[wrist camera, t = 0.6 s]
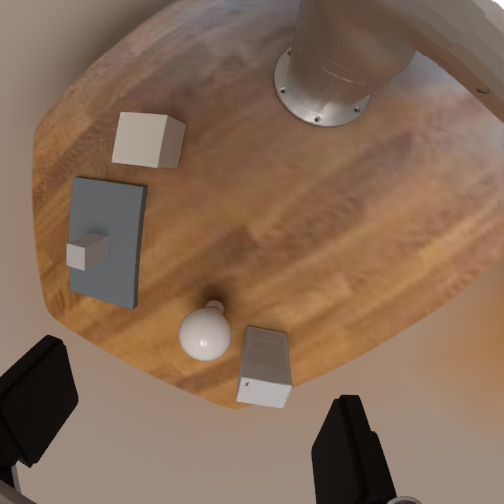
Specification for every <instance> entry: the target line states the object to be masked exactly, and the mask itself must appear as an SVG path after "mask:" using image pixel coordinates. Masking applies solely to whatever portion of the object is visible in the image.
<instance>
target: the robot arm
mask: <svg viewBox="0 0 504 504" xmlns="http://www.w3.org/2000/svg"><path fill="white" fill-rule="evenodd" d="M415 49H416V50H417V51H419V52H420V53H422V54H423V55H425V56H427V57H428V58H430V59H431V60H432V61H434V62H435V63H436V64H438V65H439V66H440V67H441V68H443V69H444V70H445V71H446V72H448V73H449V74H450V75H451V76H452V77H454V78H455V79H456V80H457V81H458V82H459V83H460V84H462V85H463V86H464V87H465V88H466V89H467V90H468V91H469V92H470V93H472V94H473V95H474V96H475V97H476V98H477V99H478V100H479V101H480V102H481V103H482V104H483V105H484V106H485V107H486V108H487V109H489V110H490V111H491V112H492V113H493V114H494V115H495V116H496V117H497V118H498V119H499V120H500V121H502V122H503V123H504V0H301V2H300V9H299V14H298V19H297V24H296V29H295V34H294V39H293V44H292V46H291V47H289V48H288V49H287V50H286V51H285V52H284V53H283V54H282V55H281V57H280V58H279V60H278V61H277V64H276V67H275V72H274V85H275V89H276V93H277V95H278V97H279V100H280V101H281V103H282V104H283V106H284V107H285V108H286V109H287V110H288V111H289V112H290V113H291V114H292V115H293V116H295V117H296V118H298V119H299V120H301V121H303V122H305V123H307V124H310V125H313V126H317V127H325V128H330V127H338V126H342V125H345V124H347V123H349V122H351V121H353V120H354V119H356V118H357V117H358V116H360V115H361V114H362V113H363V111H364V110H365V108H366V107H367V105H368V102H369V100H370V95H371V92H373V91H374V90H376V89H377V88H379V87H380V86H381V85H383V84H384V83H386V82H387V81H389V80H390V79H392V78H393V77H394V76H396V75H397V74H399V73H400V72H401V71H402V70H403V69H404V68H405V67H406V66H407V65H408V64H409V62H410V61H411V59H412V57H413V55H414V52H415ZM289 54H290V56H289ZM282 90H283V91H285V93H281V91H282ZM354 109H356V110H357V112H355V111H354ZM315 118H316V119H318V122H315V121H314V119H315ZM77 404H78V394H77V390H76V387H75V383H74V379H73V375H72V371H71V368H70V363H69V358H68V354H67V349H66V346H65V345H64V344H63V341H62V340H61V339H59V338H56V337H54V336H51V335H46V336H45V337H44V338H43V339H41V340H40V341H39V342H38V343H37V344H36V345H35V346H33V348H31V349H30V350H29V351H28V352H27V353H26V354H25V355H24V356H23V357H21V358H20V359H19V360H18V361H17V362H16V363H15V364H14V365H13V366H12V367H10V369H8V370H7V371H6V372H5V373H4V374H3V375H2V376H1V377H0V504H36V503H35V502H33V501H31V500H30V499H28V498H26V497H25V496H23V495H22V494H21V490H20V485H19V480H18V475H17V469H16V462H17V461H18V460H19V461H20V462H21V463H23V464H24V465H26V466H28V467H29V468H31V466H32V465H33V463H34V464H35V463H37V462H38V461H39V460H40V458H41V457H42V455H43V454H44V452H45V450H46V449H47V448H48V446H49V444H50V443H51V442H52V440H53V439H54V437H55V436H56V434H57V433H58V431H59V430H60V428H61V427H62V426H63V424H64V423H65V421H66V420H67V418H68V417H69V416H70V414H71V413H72V411H73V410H74V409H75V407H76V406H77ZM311 455H312V463H313V474H314V484H315V494H316V504H422V503H421V502H420V501H418V500H417V499H415V498H412V497H409V496H400V497H397V495H396V491H395V488H394V485H393V481H392V479H391V475H390V472H389V469H388V466H387V462H386V459H385V456H384V453H383V450H382V447H381V444H380V441H379V438H378V436H377V434H376V433H375V432H374V431H371V429H370V426H369V424H368V420H367V417H366V414H365V411H364V408H363V405H362V403H361V400H360V397H359V396H358V395H341V396H340V397H339V399H334V401H333V403H332V405H331V408H330V410H329V412H328V414H327V417H326V419H325V421H324V423H323V426H322V427H321V430H320V432H319V434H318V436H317V438H316V440H315V442H314V444H313V446H312V451H311Z"/></svg>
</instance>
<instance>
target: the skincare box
mask: <svg viewBox="0 0 504 504" xmlns="http://www.w3.org/2000/svg"><path fill="white" fill-rule="evenodd" d="M291 388H292V378H291V369H290V359H289V350H288V341H287V334H286V333H283V332H278V331H272V330H267V329H261V328H256V327H251V326H247V330H246V334H245V338H244V342H243V347H242V354H241V362H240V370H239V378H238V386H237V394H236V401H237V402H243V403H250V404H256V405H262V406H270V407H277V408H283V407H284V405H285V403H286V400H287V398H288V396H289V393H290V391H291Z"/></svg>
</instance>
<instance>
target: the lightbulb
mask: <svg viewBox="0 0 504 504" xmlns="http://www.w3.org/2000/svg"><path fill="white" fill-rule="evenodd" d="M223 313H224V306H223V305H222V303H221V302H219V301H217V300H211V301H209V302H208V303H207V304H206V306H205V308H204V309H197V310H195V311H192V312H191V313H189V314H188V315H187V316H186V317H185V318H184V319H183V320H182V322H181V324H180V327H179V333H178V336H179V342H180V344H181V347H182V348H183V350H184V351H185V352H186V353H187V354H188V355H189V356H191V357H192V358H194V359H197V360H200V361H211V360H215V359H217V358H219V357H220V356H222V355H223V354H224V353H225V352H226V351H227V349H228V348H229V346H230V343H231V338H232V333H231V328H230V325H229V323H228V321H227V320H226V318H225V317H224V316H223Z"/></svg>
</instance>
